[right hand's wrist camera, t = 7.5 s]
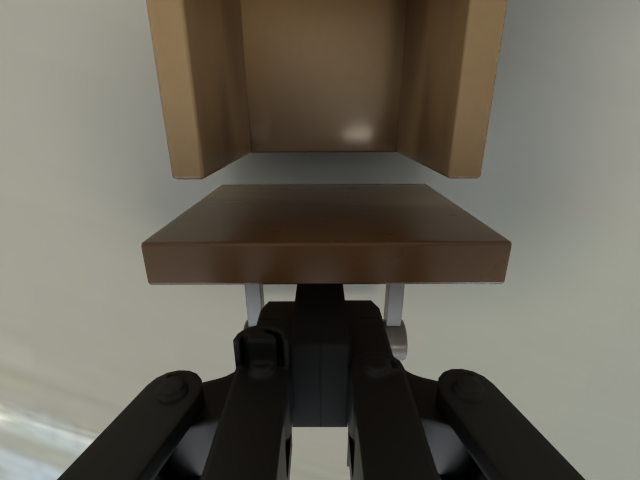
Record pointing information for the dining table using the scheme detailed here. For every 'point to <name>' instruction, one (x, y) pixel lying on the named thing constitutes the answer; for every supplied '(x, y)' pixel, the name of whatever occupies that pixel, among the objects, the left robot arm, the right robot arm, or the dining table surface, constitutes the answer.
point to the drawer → (326, 141)
